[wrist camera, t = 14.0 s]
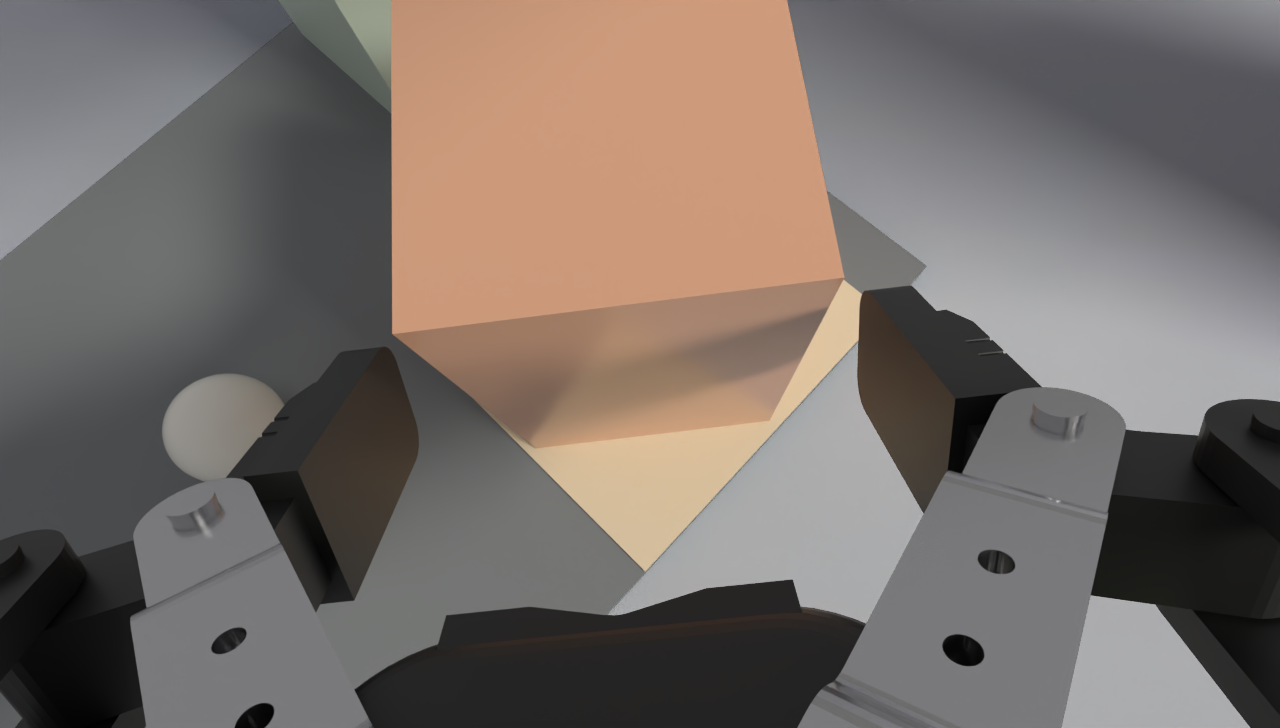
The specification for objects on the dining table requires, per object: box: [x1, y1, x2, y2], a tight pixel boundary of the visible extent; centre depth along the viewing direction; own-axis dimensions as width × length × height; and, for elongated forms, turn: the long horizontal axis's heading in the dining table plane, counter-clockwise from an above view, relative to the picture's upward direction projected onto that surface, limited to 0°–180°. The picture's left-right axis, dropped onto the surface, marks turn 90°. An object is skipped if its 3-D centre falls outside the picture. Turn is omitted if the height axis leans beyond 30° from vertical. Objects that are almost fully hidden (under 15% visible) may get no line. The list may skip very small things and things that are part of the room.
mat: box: [0, 22, 926, 728], centre depth 21 cm, size 28×22×1 cm
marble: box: [162, 373, 284, 482], centre depth 19 cm, size 3×3×3 cm
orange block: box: [391, 0, 845, 448], centre depth 16 cm, size 7×7×10 cm
